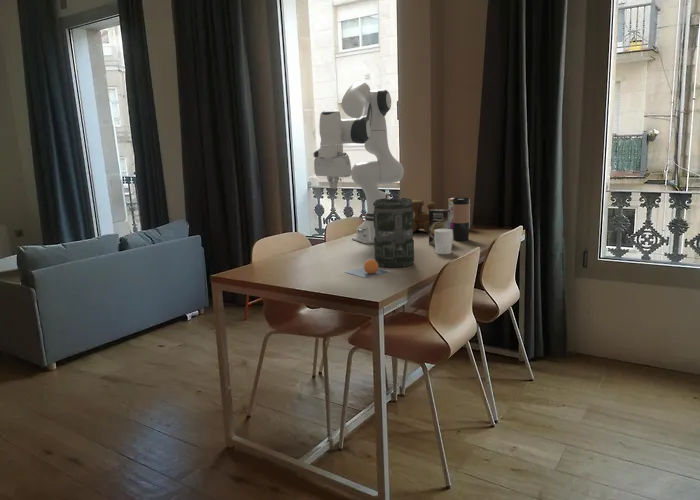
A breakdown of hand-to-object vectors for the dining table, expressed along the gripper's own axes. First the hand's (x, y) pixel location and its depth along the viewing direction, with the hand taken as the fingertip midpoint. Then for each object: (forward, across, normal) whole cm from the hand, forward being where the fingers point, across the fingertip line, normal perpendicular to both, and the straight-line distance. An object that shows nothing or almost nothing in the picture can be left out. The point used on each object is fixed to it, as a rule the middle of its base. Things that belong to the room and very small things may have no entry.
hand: (333, 188), depth 211 cm
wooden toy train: (+31, +27, -77) cm, 87 cm away
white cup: (+31, -17, -45) cm, 57 cm away
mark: (+31, -19, 0) cm, 36 cm away
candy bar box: (+31, +18, -96) cm, 103 cm away
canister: (+31, -16, -17) cm, 39 cm away
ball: (+28, -22, 0) cm, 36 cm away
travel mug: (+31, -3, -73) cm, 79 cm away
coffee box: (+31, -2, -59) cm, 67 cm away
